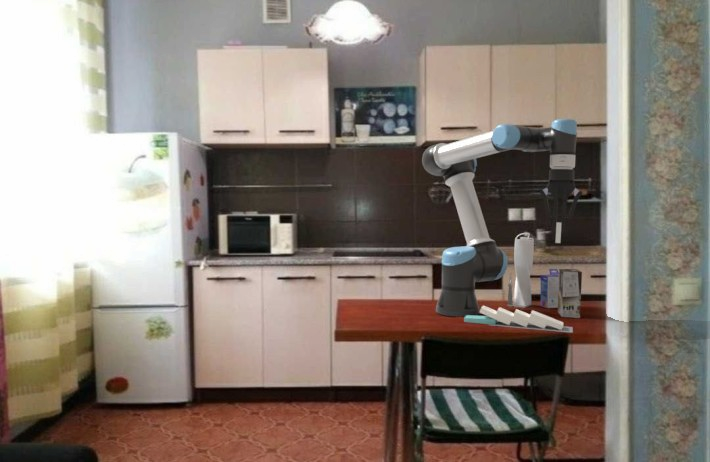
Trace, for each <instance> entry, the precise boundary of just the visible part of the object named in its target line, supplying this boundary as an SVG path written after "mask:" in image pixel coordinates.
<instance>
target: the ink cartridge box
mask: <svg viewBox="0 0 710 462" xmlns="http://www.w3.org/2000/svg"><path fill="white" fill-rule="evenodd" d="M548 271H549V274H541V275H540V307H543V308H546V309H558V281H559V269H558V268H548ZM552 271H555V272H552Z"/></svg>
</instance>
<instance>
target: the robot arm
mask: <svg viewBox="0 0 710 462" xmlns="http://www.w3.org/2000/svg"><path fill="white" fill-rule="evenodd" d="M577 127H578V123H577V121H576V120H575V119H572V118H559V119H553V121H551V127H550V126H549V127H540V128H539V127H538V128H537V127H530V126H522V125H518V124H517V125H515V124H511V123H504V124H503V123H502V124H499V125H497V126H496V127H495V128H494V129H493V130H491V131H487V132H484V133H480V134H477V135H474V136H471V137H467V138H463V139H459V140H457V141H453V142H449V143H445V142H440V143H437V144H436V143H435V144H433V145H431V146H428V147H427V148H426V149H424V152H423V153H422V158H421V163H422V166H423V168H424V170H425V171H426V172H427V173H429V174H430V175H432V176H435V177H443V180H444V184H445V185H446V186H448V187H450V190H451V193H452V194H451V195H452V197H453V201H454V204H455V207H456V210H457V214H458V219H459V221H460V224H461V228H462V231H463V235H464V238H465V239H464V240H465V241H466V245H464V246H463V245H462V246H461V245H460V246H453V247H449V248H446V249H445V250H443V252H442V258H441V291H440V294H439V297H438V300H437V302H436V306H435V312H436V313H437V314H439V315H442V316H446V317H455V318H456V317H465V316H466V315H473V316H479V315H480V313H479V312H480V306H479V303H478V298H477V295H476V291H475V290H476V289H475V288H476V283H480V282H492V281H495V280H496V281H497V280H499V279H501V278H502V277H503V276H504V275H505V274H506V271H507V270H508V257H507V255H506V253H505V251H503V250H502V249H500V248H498V246H497V242H496V240H494V239H492V238H491V237H490V235H489V232H488V228H487V225H486V221H485V219H484V215H483V213H482V208H481V205H480V202H479V199H478V195H477V192H476V190H475V186H474V182H473V180H474V178H475V172H476V170H477V168H476V167H477V166H478V163H477V161H478V160H477V159H479V158H482V157H486V156H491V155H494V154H498V153H501V152H503V153H504V152H506V151H510V150H518V151H522V152H527V153H534V152H546V151H548V152H550V155H549V168H550V169H549V173H548V183H547V185H546V187H545V188H544V189H540V191H539V194H540V196H541V197H542V201H543V204H544V210H545V216H546V219H547V220H548V221H551V222H552V229H551V230H552V233H555V242H554V243H555V244H561V242H562V241H561V239H562V237H561V236H562V233H563V234H564V233H565V232H566V224H567V222H570V221H572V220H573V217H574V213H575V210H576V207H577V204H578V201H579V198H580V197H581V196H582V194H583V191H581V190H579V189H578V188H576V184H575V170H574V169H575V167H576V148H577V147H576V146H577V137H578V128H577ZM548 192H549V193H550V194H551V196H552V197H553V209H552V211H553V212H552V215H551V209H550V206H549V205H550V204H549V201H548V200H549V199H548V194H549V193H548ZM573 192H574V193H573ZM572 193H573V196H574V198H573V201H572V204H571V207H570V210H569V213H568V216H567V203H568V202H567V199H568V198H569V197H570V196H571V194H572ZM560 198H562V203H561V221H559V222H558V211H559V210H558V205H559V199H560Z"/></svg>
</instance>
